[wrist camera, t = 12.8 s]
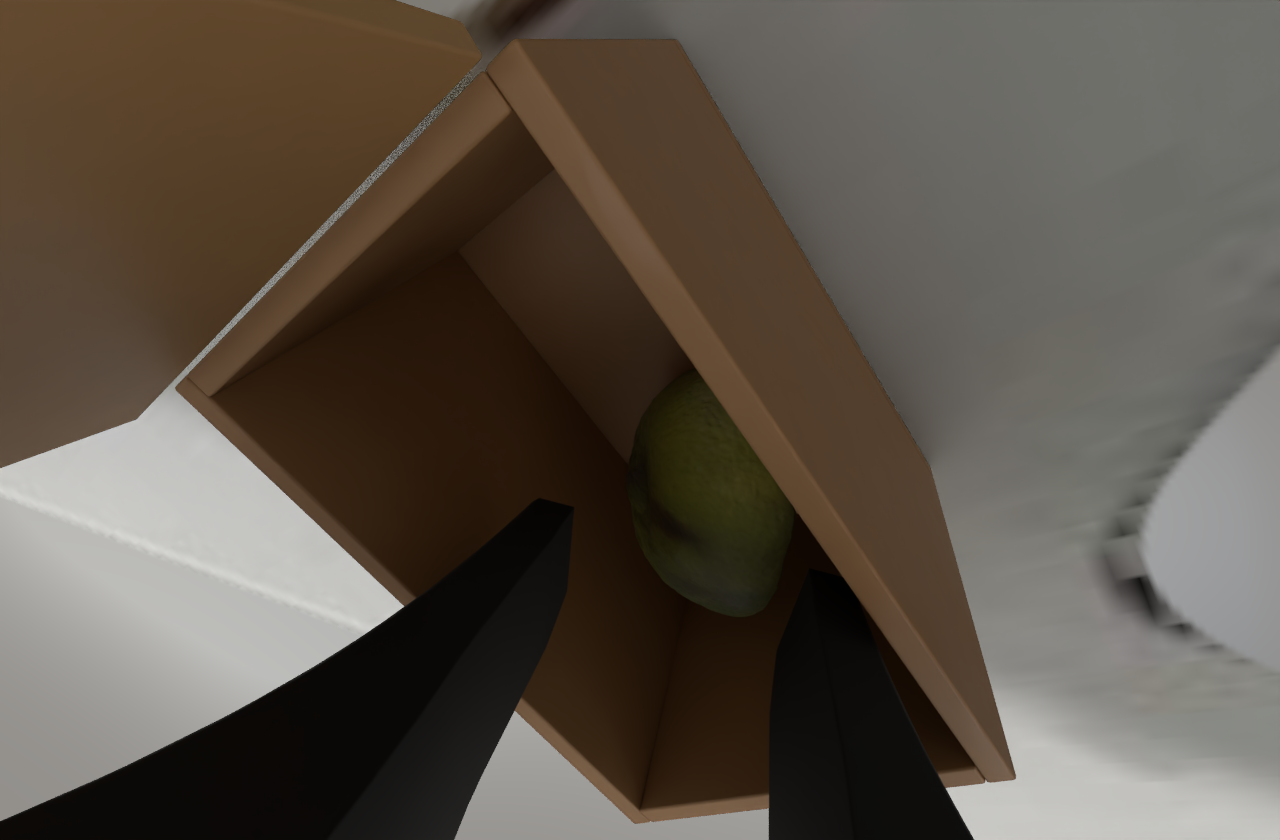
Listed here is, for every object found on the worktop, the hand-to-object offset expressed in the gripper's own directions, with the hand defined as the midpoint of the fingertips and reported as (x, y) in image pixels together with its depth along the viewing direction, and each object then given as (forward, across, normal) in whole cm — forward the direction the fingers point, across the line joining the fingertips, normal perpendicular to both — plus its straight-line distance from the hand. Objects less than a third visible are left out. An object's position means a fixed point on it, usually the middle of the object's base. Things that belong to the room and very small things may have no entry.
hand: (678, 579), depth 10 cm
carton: (+6, +1, -1) cm, 6 cm away
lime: (+5, 0, 0) cm, 5 cm away
